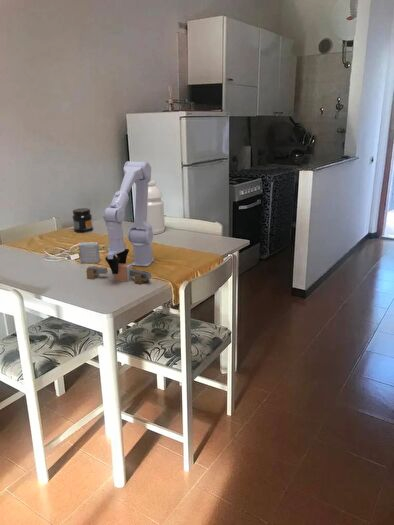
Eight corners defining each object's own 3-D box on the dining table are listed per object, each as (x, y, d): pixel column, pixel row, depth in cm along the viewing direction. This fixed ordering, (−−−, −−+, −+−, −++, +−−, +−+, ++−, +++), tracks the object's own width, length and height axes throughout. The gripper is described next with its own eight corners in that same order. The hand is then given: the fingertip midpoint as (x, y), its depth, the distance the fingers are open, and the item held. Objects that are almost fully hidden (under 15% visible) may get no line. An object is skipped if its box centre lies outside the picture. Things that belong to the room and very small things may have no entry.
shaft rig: (91, 274, 178) (90, 265, 176) (155, 278, 172) (154, 269, 170) (83, 280, 171) (82, 271, 170) (149, 285, 165) (149, 275, 164)
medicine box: (100, 259, 195) (98, 241, 192) (98, 263, 191) (96, 244, 188) (82, 260, 195) (80, 242, 192) (80, 263, 190) (78, 245, 187)
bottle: (135, 234, 234) (131, 182, 224) (145, 227, 246) (142, 178, 237) (159, 235, 230) (156, 183, 220) (168, 229, 242) (166, 179, 233)
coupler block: (116, 276, 174) (114, 263, 172) (132, 278, 173) (131, 264, 171) (112, 280, 171) (111, 266, 169) (129, 281, 170) (127, 267, 168)
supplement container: (97, 229, 245) (95, 209, 241) (83, 234, 237) (81, 212, 232) (84, 227, 250) (81, 207, 246) (70, 231, 242) (67, 210, 238)
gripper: (113, 232, 174) (116, 263, 179) (98, 242, 161) (102, 276, 165) (130, 232, 173) (132, 264, 177) (115, 243, 159) (119, 277, 164)
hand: (118, 270), depth 171 cm, fingers open, 7 cm apart
